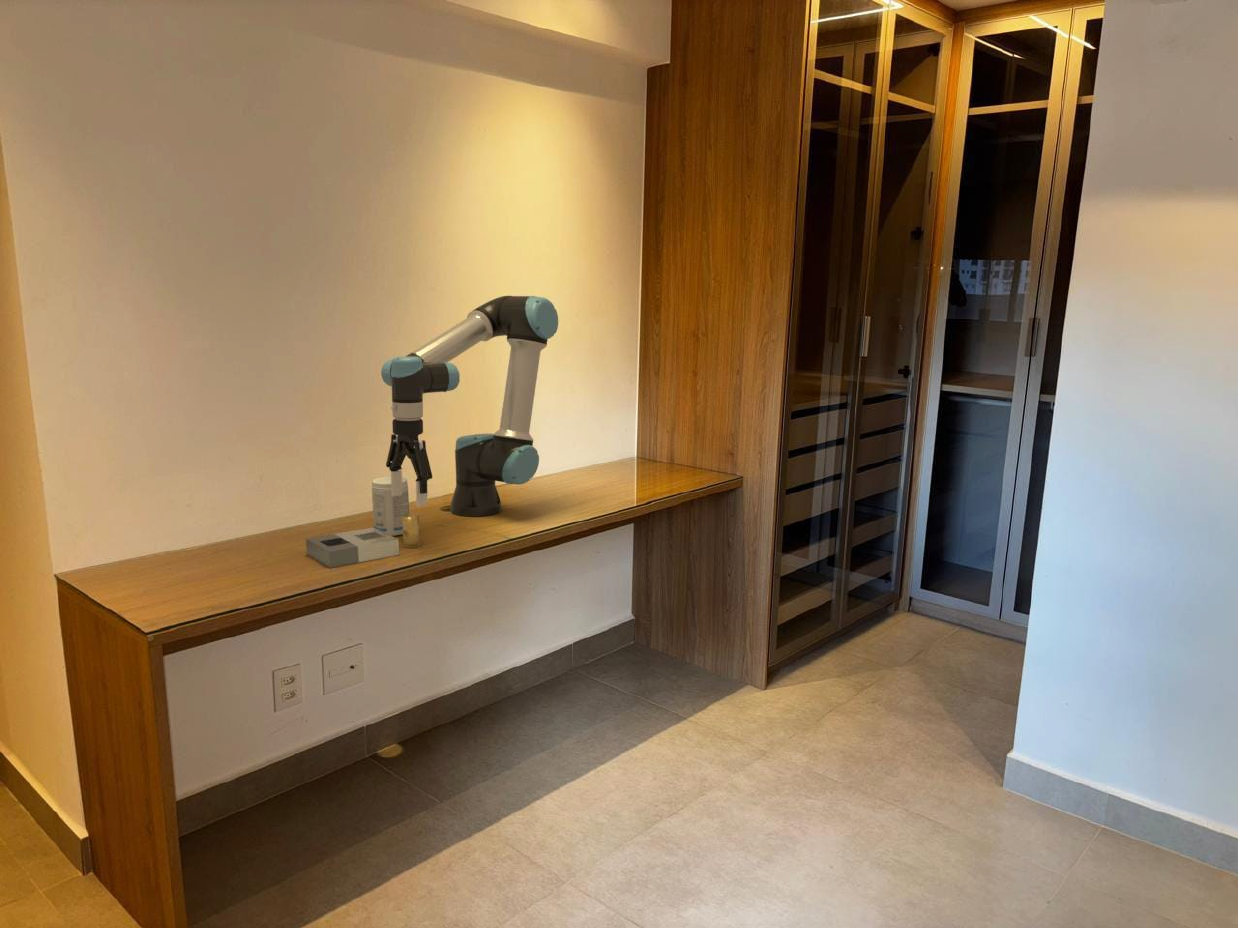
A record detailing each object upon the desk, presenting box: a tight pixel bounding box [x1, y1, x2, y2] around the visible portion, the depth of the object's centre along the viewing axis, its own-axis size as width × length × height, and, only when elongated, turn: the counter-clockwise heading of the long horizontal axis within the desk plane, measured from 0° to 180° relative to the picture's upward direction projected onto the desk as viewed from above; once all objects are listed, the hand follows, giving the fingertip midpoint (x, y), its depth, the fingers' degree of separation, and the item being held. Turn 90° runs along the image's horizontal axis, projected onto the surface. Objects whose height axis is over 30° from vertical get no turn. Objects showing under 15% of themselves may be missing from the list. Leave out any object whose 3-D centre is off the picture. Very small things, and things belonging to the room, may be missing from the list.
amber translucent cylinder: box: [402, 513, 420, 549], centre depth 231 cm, size 4×4×8 cm
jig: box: [305, 526, 400, 569], centre depth 223 cm, size 18×14×4 cm
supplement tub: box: [371, 476, 410, 537], centre depth 243 cm, size 10×10×15 cm
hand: (409, 500), depth 229 cm, fingers open, 13 cm apart
